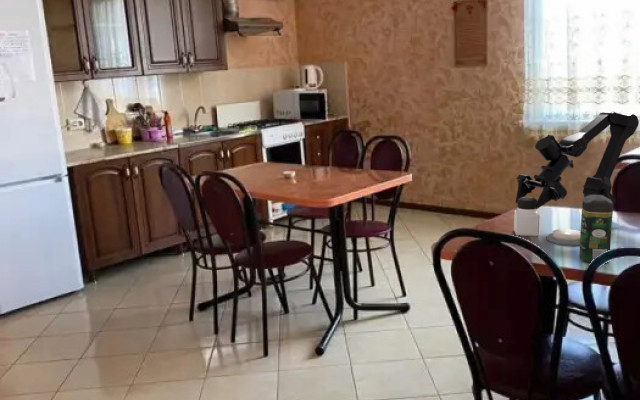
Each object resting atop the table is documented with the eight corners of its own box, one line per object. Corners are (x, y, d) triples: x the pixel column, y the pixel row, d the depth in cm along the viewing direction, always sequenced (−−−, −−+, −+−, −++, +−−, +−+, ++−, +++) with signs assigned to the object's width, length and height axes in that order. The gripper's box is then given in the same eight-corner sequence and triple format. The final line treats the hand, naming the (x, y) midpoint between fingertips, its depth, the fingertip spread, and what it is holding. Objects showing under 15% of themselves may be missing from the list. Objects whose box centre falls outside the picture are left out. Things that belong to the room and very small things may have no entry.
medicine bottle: (538, 236, 204) (540, 200, 202) (515, 235, 206) (517, 200, 203) (535, 230, 211) (537, 195, 209) (513, 230, 213) (515, 195, 210)
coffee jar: (577, 253, 185) (580, 192, 181) (606, 255, 183) (610, 193, 179) (580, 263, 176) (584, 199, 172) (611, 265, 174) (616, 200, 170)
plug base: (557, 233, 207) (557, 226, 206) (593, 239, 199) (594, 232, 198) (540, 241, 199) (540, 233, 198) (577, 247, 190) (578, 240, 190)
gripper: (587, 189, 203) (559, 226, 201) (546, 180, 220) (519, 214, 218) (570, 167, 198) (541, 205, 197) (529, 160, 215) (502, 194, 213)
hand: (525, 205), depth 206 cm, fingers open, 9 cm apart
